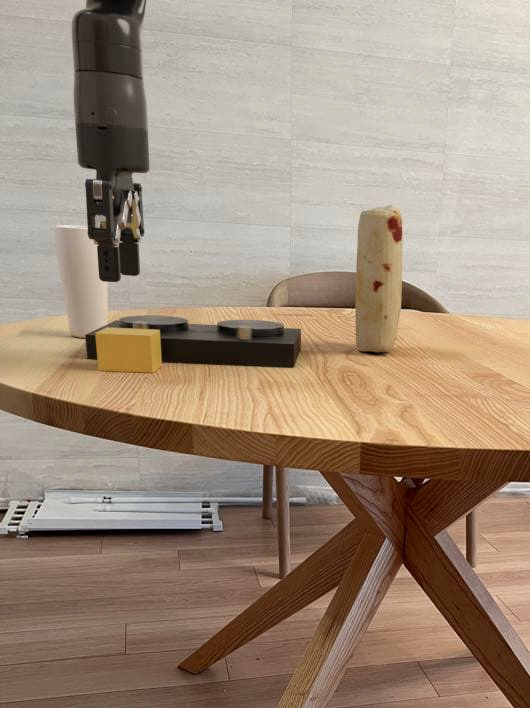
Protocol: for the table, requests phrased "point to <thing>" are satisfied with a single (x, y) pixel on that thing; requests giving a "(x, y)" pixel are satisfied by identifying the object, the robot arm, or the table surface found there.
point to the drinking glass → (81, 280)
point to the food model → (378, 278)
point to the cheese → (128, 350)
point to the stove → (215, 341)
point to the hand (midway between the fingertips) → (120, 278)
